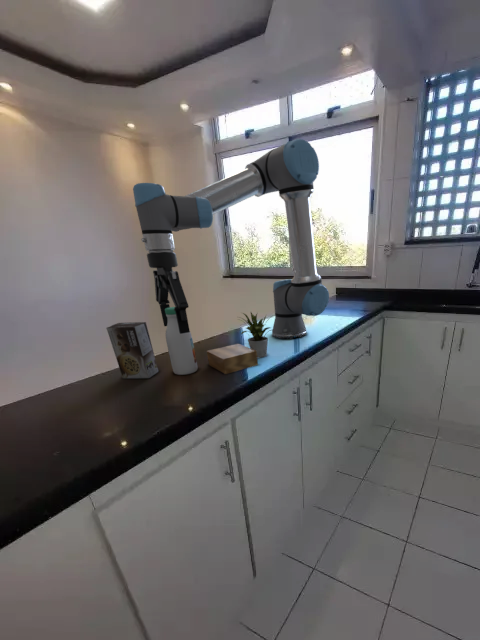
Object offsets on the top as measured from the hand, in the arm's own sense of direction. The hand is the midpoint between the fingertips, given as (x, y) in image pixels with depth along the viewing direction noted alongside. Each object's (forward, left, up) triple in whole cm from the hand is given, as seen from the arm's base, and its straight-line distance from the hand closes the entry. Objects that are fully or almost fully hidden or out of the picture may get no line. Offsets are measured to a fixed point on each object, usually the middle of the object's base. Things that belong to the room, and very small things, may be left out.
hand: (176, 329), depth 94 cm
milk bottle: (0, 0, -14) cm, 14 cm away
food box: (+12, -7, -14) cm, 20 cm away
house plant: (-25, +3, -14) cm, 29 cm away
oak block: (-14, +6, -14) cm, 21 cm away
